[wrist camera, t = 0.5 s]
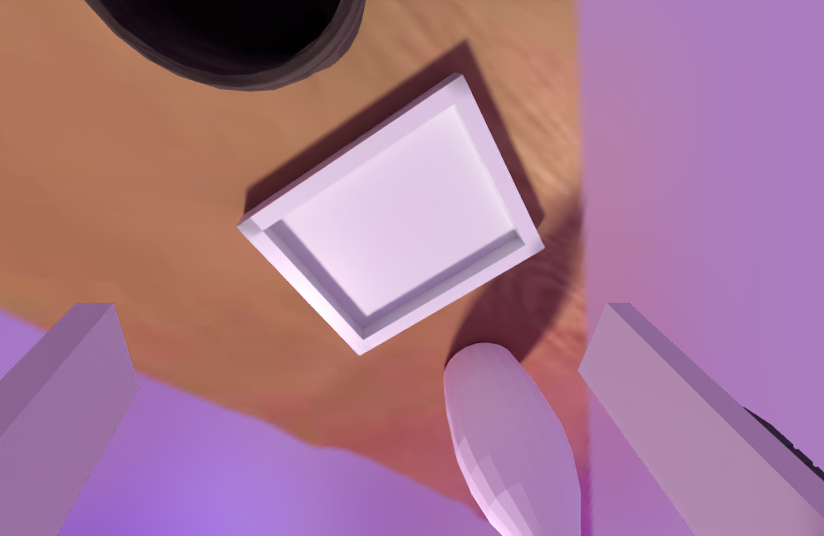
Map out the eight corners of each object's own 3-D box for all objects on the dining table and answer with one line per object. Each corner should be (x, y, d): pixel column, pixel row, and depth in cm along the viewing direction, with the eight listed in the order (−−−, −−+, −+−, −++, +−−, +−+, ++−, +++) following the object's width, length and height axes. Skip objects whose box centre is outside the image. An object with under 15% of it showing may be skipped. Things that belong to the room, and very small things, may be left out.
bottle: (537, 362, 50) (686, 607, 28) (472, 412, 53) (562, 669, 31) (484, 317, 45) (615, 570, 23) (415, 374, 48) (475, 648, 26)
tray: (243, 214, 35) (236, 226, 33) (453, 72, 32) (462, 74, 30) (358, 339, 44) (359, 355, 42) (533, 236, 41) (544, 248, 39)
